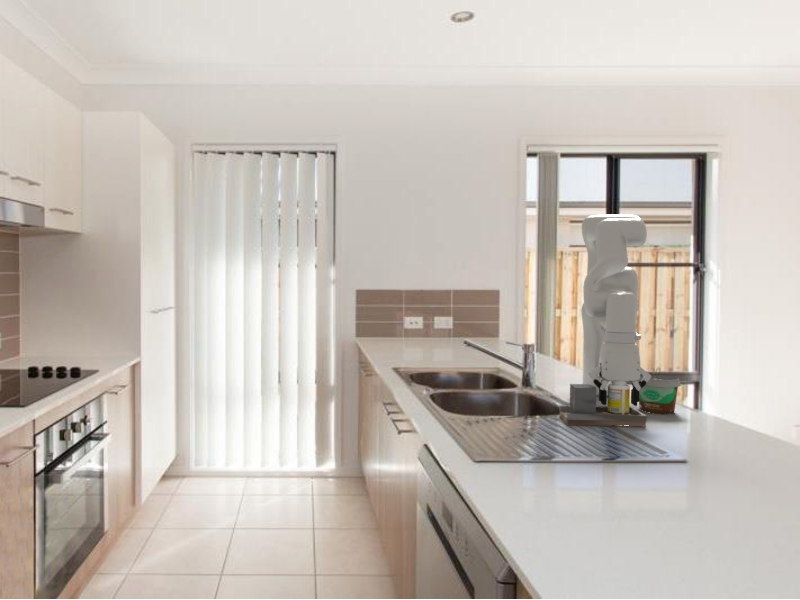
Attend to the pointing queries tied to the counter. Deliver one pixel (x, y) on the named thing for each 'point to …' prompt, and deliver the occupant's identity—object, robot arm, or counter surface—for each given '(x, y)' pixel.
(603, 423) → the wooden tray
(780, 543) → the counter surface
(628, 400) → the supplement bottle
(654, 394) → the food container
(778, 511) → the counter surface
